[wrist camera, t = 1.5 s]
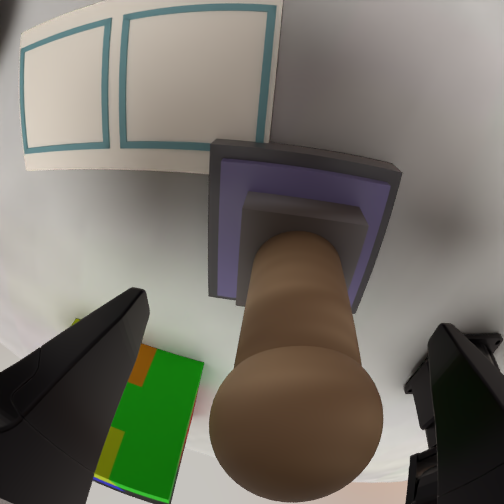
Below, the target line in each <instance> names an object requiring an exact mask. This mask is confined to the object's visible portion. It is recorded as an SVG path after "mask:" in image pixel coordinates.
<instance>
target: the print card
mask: <svg viewBox="0 0 504 504" xmlns="http://www.w3.org/2000/svg"><path fill="white" fill-rule="evenodd" d="M282 7H283V0H106V1H102V2H99V3H96V4H92V5H89V6H86V7H83V8H80V9H77V10H74V11H72V12H69V13H66V14H64V15H61V16H58V17H56V18H53V19H51V20H49V21H46V22H44V23H42V24H40V25H37V26H35V27H33V28H31V29H29V30H27V31H25V32H23V33H21V40H20V54H19V111H20V126H21V136H22V145H23V153H24V160H25V167H26V171H33V170H65V169H112V170H146V171H167V172H183V173H197V174H209V161H210V144H211V143H212V142H213V141H214V140H215V139H229V140H242V141H252V142H257V143H269V139H270V129H271V119H272V109H273V99H274V89H275V79H276V69H277V59H278V49H279V39H280V28H281V18H282Z"/></svg>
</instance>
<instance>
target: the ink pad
mask: <svg viewBox="0 0 504 504" xmlns="http://www.w3.org/2000/svg"><path fill="white" fill-rule="evenodd" d="M401 176H402V172H401V171H400V170H399V169H398V168H397V167H396V166H394V165H393V164H392V163H388V162H383V161H379V160H374V159H370V158H365V157H360V156H355V155H350V154H345V153H339V152H333V151H328V150H322V149H315V148H309V147H302V146H295V145H288V144H280V143H271V142H269V143H257V142H252V141H242V140H229V139H215V140H214V141H213V142H212V143H211V144H210V161H209V202H208V291H209V296H210V297H216V298H223V299H230V300H236V291H237V276H238V260H239V246H240V231H241V217H242V207H243V204H244V201H245V199H246V196H247V193H248V191H251V192H260V193H268V194H276V195H284V196H292V197H299V198H306V199H313V200H320V201H327V202H333V203H339V204H345V205H352V206H357V207H360V209H361V211H362V213H363V215H364V217H365V219H366V221H367V223H368V225H369V228H368V231H367V235H366V238H365V241H364V244H363V248H362V251H361V254H360V257H359V260H358V263H357V266H356V269H355V272H354V275H353V278H352V281H351V284H350V287H349V290H348V296H349V301H350V305H351V310H352V314H355V313H356V311H357V308H358V306H359V303H360V301H361V298H362V296H363V293H364V291H365V288H366V286H367V283H368V280H369V278H370V275H371V272H372V270H373V267H374V264H375V261H376V258H377V256H378V253H379V250H380V247H381V244H382V241H383V238H384V235H385V232H386V229H387V225H388V222H389V219H390V216H391V212H392V209H393V206H394V202H395V199H396V195H397V191H398V188H399V184H400V180H401Z"/></svg>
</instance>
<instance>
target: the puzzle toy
mask: <svg viewBox="0 0 504 504" xmlns="http://www.w3.org/2000/svg"><path fill="white" fill-rule="evenodd" d="M78 321H80V320H79V319H77V318H76V319H75V321H74V322H73V324H72V325H74V324H75V323H77V322H78ZM72 325H71V326H72ZM203 365H204V362H200V361H196V360H193V359H189V358H186V357H183V356H179V355H176V354H173V353H169V352H166V351H163V350H160V349H157V348H154V347H151V346H148V345H145V344H142V343H141V346H140V349H139V353H138V356H137V359H136V362H135V365H134V367H133V370H132V372H131V374H130V377H129V379H128V382H127V384H126V387H125V390H124V392H123V395H122V397H121V400H120V402H119V405H118V408H117V410H116V413H115V416H114V418H113V421H112V424H111V427H110V429H109V432H108V435H107V438H106V441H105V444H104V446H103V449H102V452H101V455H100V458H99V461H98V464H97V467H96V470H95V473H94V477H93V480H92V481H95V482H97V483H99V484H101V485H104V486H106V487H109V488H111V489H113V490H116V491H119V492H121V493H124V494H127V495H129V496H132V497H135V498H138V499H141V500H144V501H147V502H150V503H153V504H171V500H172V496H173V492H174V487H175V484H176V479H177V476H178V472H179V467H180V463H181V459H182V455H183V451H184V447H185V443H186V439H187V435H188V432H189V428H190V424H191V420H192V416H193V411H194V406H195V402H196V397H197V392H198V388H199V383H200V379H201V374H202V370H203Z"/></svg>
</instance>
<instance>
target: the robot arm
mask: <svg viewBox="0 0 504 504" xmlns="http://www.w3.org/2000/svg"><path fill="white" fill-rule="evenodd" d="M149 314H150V310H149V304H148V299H147V294H146V291H145V290H144V289H140V288H135V287H132V288H130V289H128V290H126V291H125V292H123V293H122V294H120V295H118V296H117V297H115V298H114V299H112V300H111V301H109V302H107V303H106V304H104V305H103V306H101V307H100V308H98V309H97V310H95V311H94V312H92V313H90V314H89V315H87V316H86V317H84V318H83V319H81V320H80V321H78V322H77V323H75V324H74V325H72V326H71V327H69V328H68V329H66V330H65V331H63V332H62V333H60V334H59V335H57V336H56V337H54V338H53V339H51V340H50V341H48V342H47V343H45V344H44V345H42V346H41V348H38V349H36V350H35V351H33V352H32V353H31V354H29V355H28V356H26V357H25V358H23V359H21V360H20V361H18V362H17V363H15V364H13V365H12V366H10V367H9V368H7V369H5V370H3V371H2V372H0V504H86V500H87V497H88V493H89V490H90V487H91V484H92V480H93V477H94V473H95V470H96V467H97V464H98V461H99V458H100V455H101V452H102V449H103V446H104V444H105V441H106V438H107V435H108V432H109V429H110V427H111V424H112V421H113V418H114V416H115V413H116V410H117V408H118V405H119V402H120V400H121V397H122V395H123V392H124V390H125V387H126V384H127V382H128V379H129V377H130V374H131V372H132V370H133V367H134V365H135V362H136V359H137V356H138V353H139V349H140V346H141V342H142V339H143V335H144V332H145V329H146V325H147V322H148V319H149ZM502 341H503V338H502V336H501V334H481V335H463V334H462V333H461V332H460V331H459V330H458V329H457V328H456V327H455V326H454V325H452V324H450V323H441V324H440V325H439V326H438V327H437V329H436V330H435V332H434V333H433V335H432V336H431V338H430V339H429V342H428V357H427V359H426V360H425V361H424V363H423V364H422V365H421V367H420V368H419V369H418V371H417V372H416V373H415V374H414V376H413V377H412V378H411V379H410V381H409V382H408V383H407V384H406V385H405V387H404V391H405V394H413V396H414V401H415V405H416V410H417V415H418V419H419V425H420V428H421V429H422V430H425V431H426V437H427V442H428V448H429V449H428V450H426V451H424V452H421V453H416V454H414V455H412V456H410V466H409V475H408V486H407V495H406V503H405V504H504V375H503V374H502V373H501V372H500V369H499V367H498V365H497V362H496V360H495V358H494V356H493V353H494V351H495V350H496V349H497V348H498V346H499V345H500V344H501V342H502Z"/></svg>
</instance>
